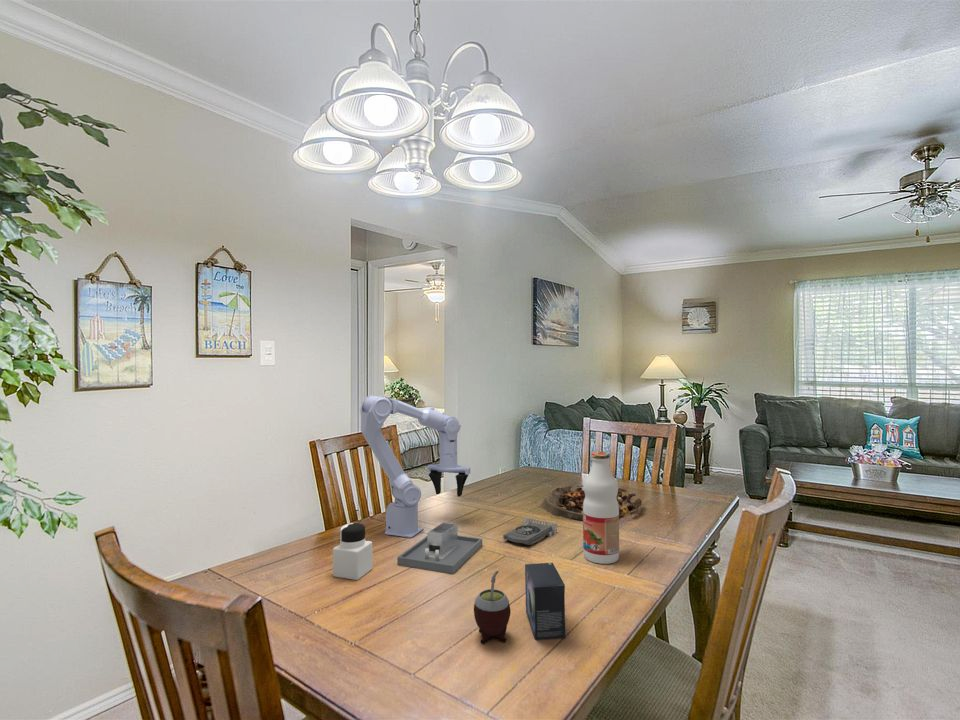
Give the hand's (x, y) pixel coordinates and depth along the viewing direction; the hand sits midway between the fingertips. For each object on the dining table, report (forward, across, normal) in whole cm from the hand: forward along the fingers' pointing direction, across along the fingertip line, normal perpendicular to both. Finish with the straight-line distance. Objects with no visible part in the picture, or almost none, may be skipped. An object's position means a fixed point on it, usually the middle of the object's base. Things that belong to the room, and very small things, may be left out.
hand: (448, 494), depth 162 cm
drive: (+8, -9, +23) cm, 26 cm away
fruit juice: (+10, -50, +11) cm, 52 cm away
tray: (+9, -9, +24) cm, 27 cm away
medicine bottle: (+10, +7, +42) cm, 44 cm away
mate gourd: (+10, -36, +57) cm, 68 cm away
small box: (+10, -44, +49) cm, 67 cm away
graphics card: (+10, -27, +2) cm, 29 cm away
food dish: (+10, -40, -33) cm, 53 cm away
